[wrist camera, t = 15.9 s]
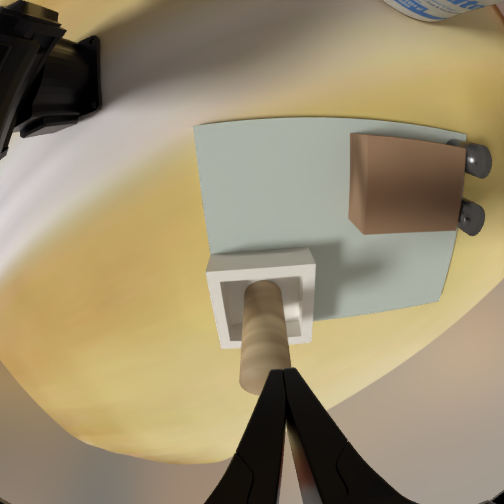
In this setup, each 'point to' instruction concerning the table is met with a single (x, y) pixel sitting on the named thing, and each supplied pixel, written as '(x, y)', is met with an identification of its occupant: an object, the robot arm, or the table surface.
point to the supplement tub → (437, 7)
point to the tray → (256, 269)
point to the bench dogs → (480, 167)
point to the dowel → (262, 335)
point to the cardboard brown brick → (404, 184)
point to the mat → (316, 210)
